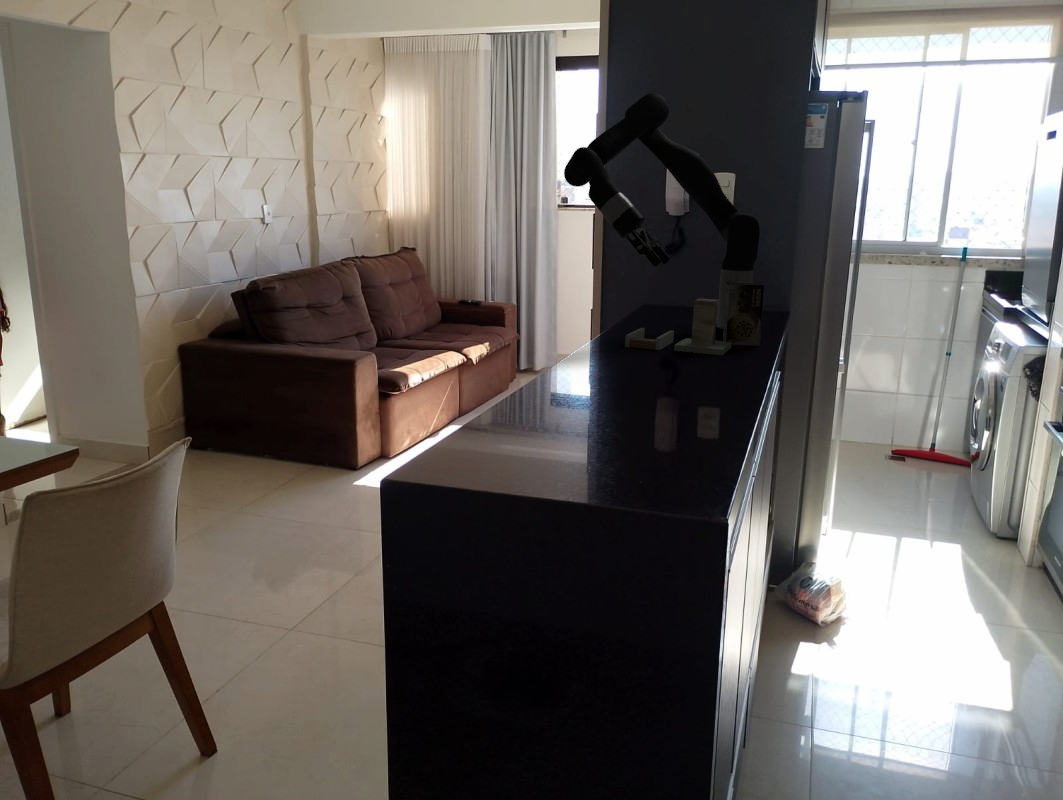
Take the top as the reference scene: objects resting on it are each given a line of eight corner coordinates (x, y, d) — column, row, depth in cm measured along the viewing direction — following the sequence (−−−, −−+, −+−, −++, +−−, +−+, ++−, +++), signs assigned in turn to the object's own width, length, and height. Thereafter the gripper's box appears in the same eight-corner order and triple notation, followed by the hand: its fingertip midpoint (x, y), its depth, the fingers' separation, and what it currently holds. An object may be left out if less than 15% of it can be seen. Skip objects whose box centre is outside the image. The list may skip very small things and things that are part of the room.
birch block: (695, 341, 222) (698, 298, 220) (714, 342, 220) (718, 299, 218) (691, 344, 218) (694, 300, 215) (711, 345, 216) (714, 302, 213)
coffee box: (756, 342, 232) (761, 282, 228) (760, 346, 226) (765, 284, 222) (721, 341, 233) (726, 280, 229) (724, 345, 227) (729, 283, 223)
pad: (685, 343, 227) (685, 338, 227) (731, 347, 222) (731, 342, 222) (674, 350, 216) (674, 345, 216) (722, 355, 212) (722, 349, 211)
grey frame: (640, 338, 233) (641, 327, 232) (673, 341, 229) (673, 330, 229) (625, 346, 220) (625, 335, 219) (659, 350, 217) (660, 338, 216)
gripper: (620, 224, 228) (659, 270, 227) (602, 226, 216) (644, 275, 214) (640, 204, 225) (680, 251, 224) (624, 205, 212) (666, 255, 211)
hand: (663, 263), depth 219 cm, fingers open, 8 cm apart
